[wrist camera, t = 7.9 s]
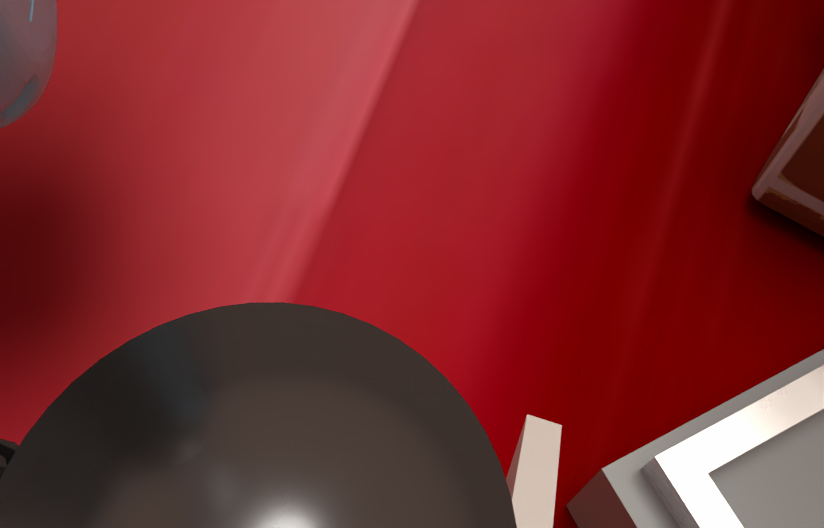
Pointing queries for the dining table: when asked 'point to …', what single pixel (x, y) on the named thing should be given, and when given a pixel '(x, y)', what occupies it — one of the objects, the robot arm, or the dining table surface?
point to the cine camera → (798, 166)
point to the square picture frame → (727, 452)
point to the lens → (258, 433)
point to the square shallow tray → (722, 473)
